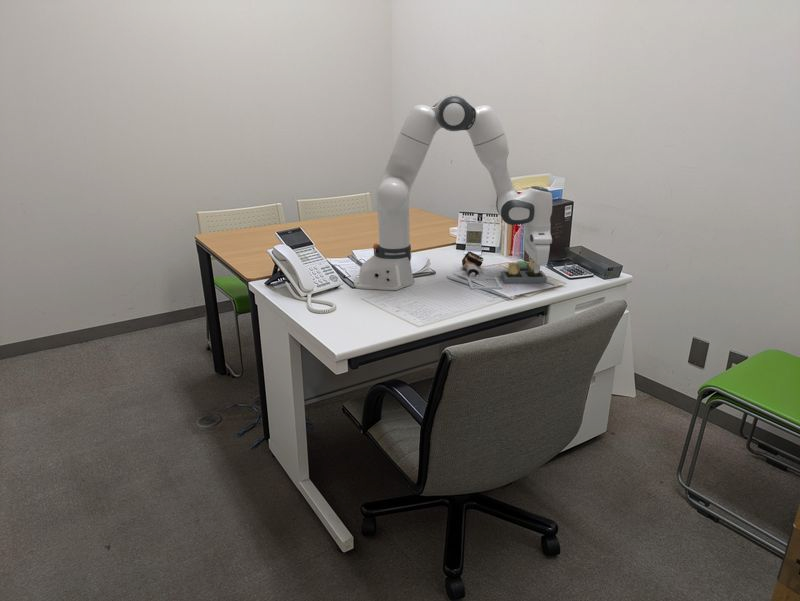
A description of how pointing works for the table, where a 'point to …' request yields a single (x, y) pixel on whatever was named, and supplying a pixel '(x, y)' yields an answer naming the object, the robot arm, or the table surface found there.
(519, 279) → the compartment tray
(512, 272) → the billet
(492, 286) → the grey square tray
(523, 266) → the button
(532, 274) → the cylinder
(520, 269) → the button housing
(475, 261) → the figurine
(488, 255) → the table surface
